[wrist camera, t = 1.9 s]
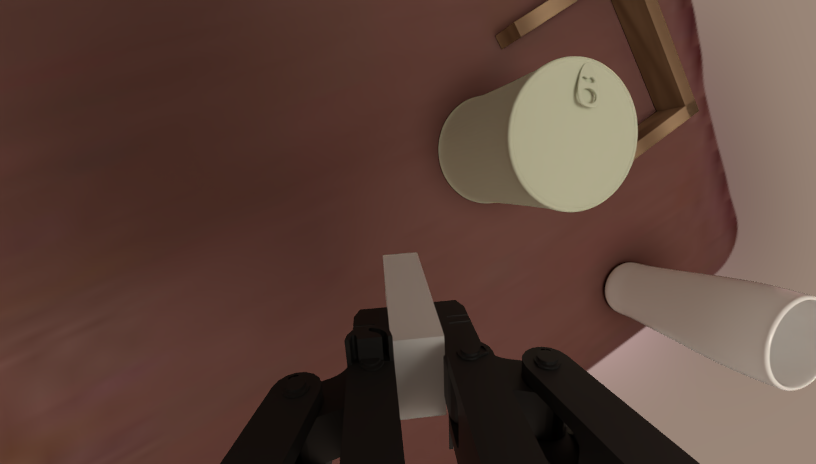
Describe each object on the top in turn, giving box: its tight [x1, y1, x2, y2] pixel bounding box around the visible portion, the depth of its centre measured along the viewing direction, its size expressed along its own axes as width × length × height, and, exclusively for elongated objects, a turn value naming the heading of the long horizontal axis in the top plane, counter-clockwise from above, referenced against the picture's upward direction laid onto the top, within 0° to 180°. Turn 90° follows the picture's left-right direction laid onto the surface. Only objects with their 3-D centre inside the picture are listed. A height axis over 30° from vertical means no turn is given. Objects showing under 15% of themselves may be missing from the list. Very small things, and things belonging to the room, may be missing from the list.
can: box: [438, 56, 638, 212], centre depth 29 cm, size 9×9×12 cm
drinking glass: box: [605, 262, 816, 391], centre depth 33 cm, size 7×7×15 cm
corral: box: [495, 0, 699, 159], centre depth 35 cm, size 13×15×3 cm
